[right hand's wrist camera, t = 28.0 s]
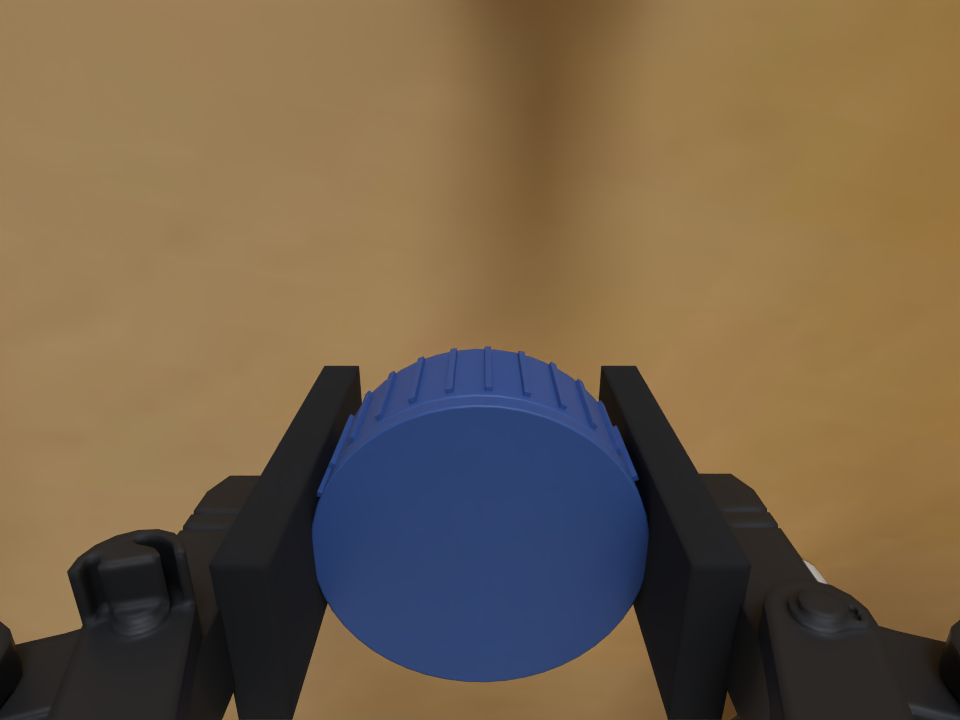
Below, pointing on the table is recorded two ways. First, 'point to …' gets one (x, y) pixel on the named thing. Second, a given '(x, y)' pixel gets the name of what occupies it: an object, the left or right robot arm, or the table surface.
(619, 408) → the right robot arm
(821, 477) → the table surface
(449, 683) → the table surface
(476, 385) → the lid
